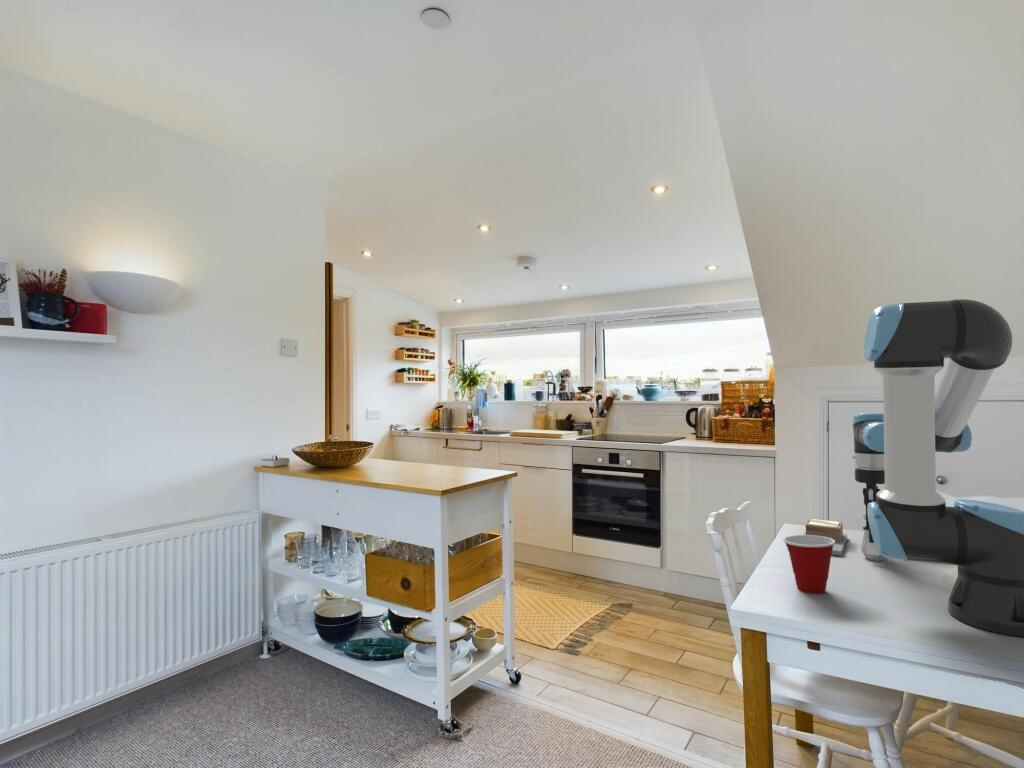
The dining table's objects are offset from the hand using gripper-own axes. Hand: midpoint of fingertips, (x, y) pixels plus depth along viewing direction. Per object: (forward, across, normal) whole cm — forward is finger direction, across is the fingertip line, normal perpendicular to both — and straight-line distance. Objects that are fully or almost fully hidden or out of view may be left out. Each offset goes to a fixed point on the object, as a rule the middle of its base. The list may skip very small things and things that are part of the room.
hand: (873, 550), depth 144 cm
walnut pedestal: (+1, -12, -13) cm, 18 cm away
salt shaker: (+3, 0, 0) cm, 3 cm away
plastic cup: (+3, +35, -11) cm, 37 cm away
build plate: (+2, -8, -13) cm, 15 cm away
